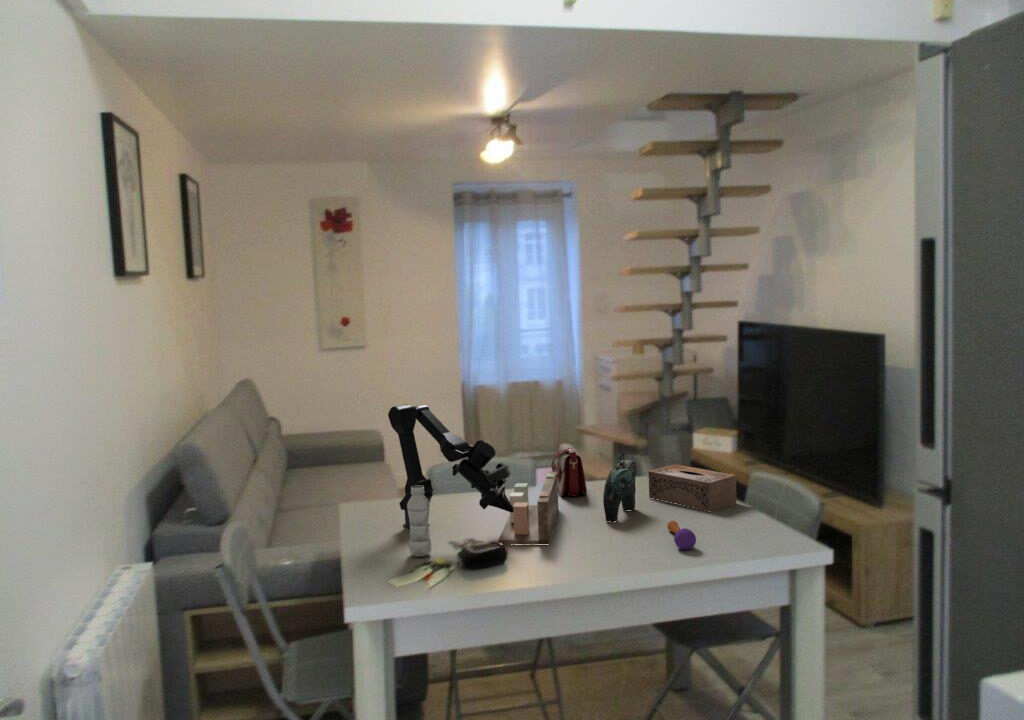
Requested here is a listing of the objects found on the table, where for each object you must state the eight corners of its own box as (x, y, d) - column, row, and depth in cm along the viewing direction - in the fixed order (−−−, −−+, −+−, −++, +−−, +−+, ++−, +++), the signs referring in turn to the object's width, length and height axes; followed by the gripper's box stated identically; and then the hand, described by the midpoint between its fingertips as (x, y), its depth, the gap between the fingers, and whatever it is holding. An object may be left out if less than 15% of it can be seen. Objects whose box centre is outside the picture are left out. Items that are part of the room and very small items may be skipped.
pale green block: (515, 512, 262) (514, 486, 262) (516, 508, 267) (515, 483, 266) (527, 512, 262) (526, 486, 261) (528, 508, 266) (527, 483, 266)
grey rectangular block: (510, 522, 250) (509, 496, 250) (512, 518, 255) (511, 492, 254) (523, 522, 250) (522, 496, 249) (524, 518, 254) (523, 492, 254)
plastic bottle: (420, 550, 233) (417, 483, 231) (437, 554, 228) (433, 485, 227) (404, 556, 228) (400, 487, 226) (420, 561, 223) (417, 490, 222)
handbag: (550, 481, 310) (549, 437, 309) (577, 480, 311) (576, 436, 309) (558, 500, 282) (556, 451, 281) (588, 498, 283) (586, 450, 281)
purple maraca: (683, 517, 242) (699, 532, 222) (681, 537, 242) (696, 553, 222) (664, 515, 242) (678, 529, 222) (661, 534, 242) (675, 550, 222)
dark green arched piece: (624, 506, 270) (623, 448, 269) (642, 508, 267) (641, 449, 265) (600, 522, 253) (598, 460, 252) (619, 524, 250) (617, 461, 248)
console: (498, 545, 234) (496, 500, 233) (514, 509, 272) (512, 470, 271) (549, 545, 232) (547, 500, 231) (558, 509, 270) (557, 470, 269)
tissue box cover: (649, 499, 279) (648, 471, 279) (675, 491, 289) (674, 464, 288) (710, 513, 260) (709, 483, 259) (736, 504, 269) (735, 475, 268)
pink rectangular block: (514, 534, 238) (513, 506, 238) (516, 529, 243) (515, 502, 242) (527, 534, 238) (526, 506, 237) (529, 529, 242) (528, 502, 242)
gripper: (488, 463, 230) (528, 500, 229) (498, 450, 248) (534, 485, 248) (463, 490, 232) (502, 527, 231) (474, 475, 250) (510, 510, 250)
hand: (513, 511), depth 240 cm, fingers closed, pressing on pink rectangular block
